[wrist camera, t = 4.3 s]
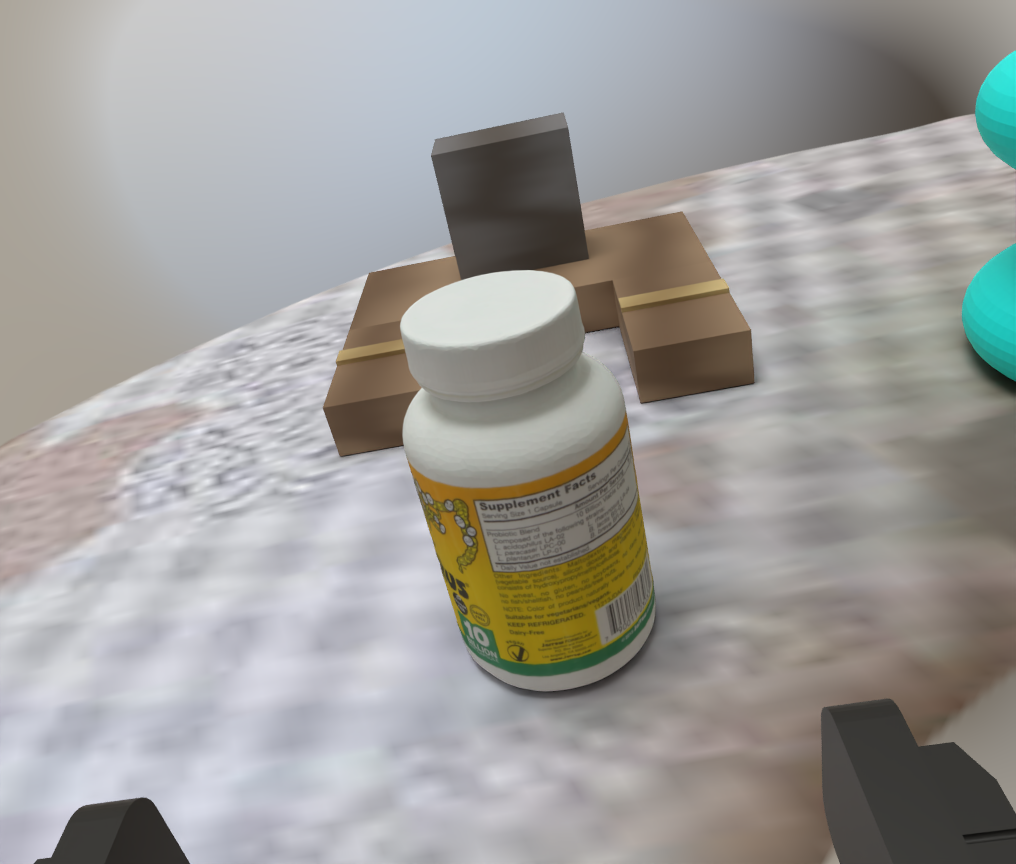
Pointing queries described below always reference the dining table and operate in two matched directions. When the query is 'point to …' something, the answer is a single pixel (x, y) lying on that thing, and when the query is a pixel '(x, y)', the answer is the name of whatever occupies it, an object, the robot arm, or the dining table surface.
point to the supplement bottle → (527, 480)
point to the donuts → (1012, 273)
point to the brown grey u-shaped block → (549, 248)
